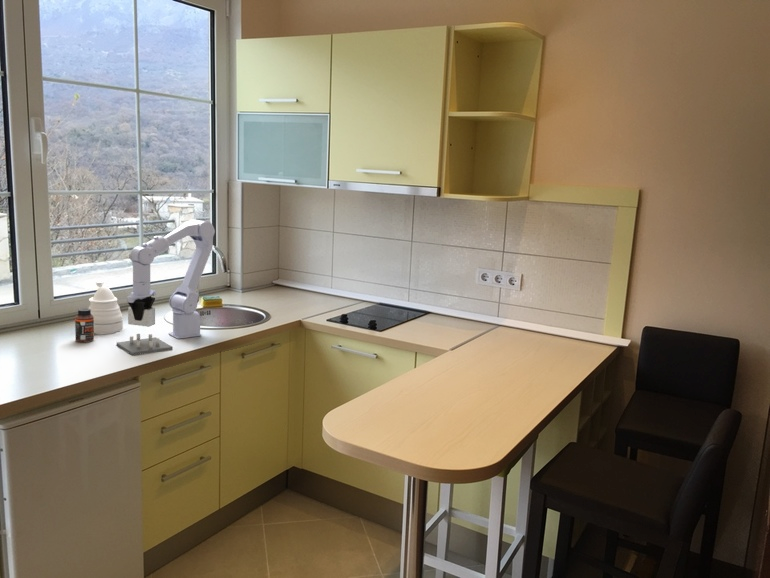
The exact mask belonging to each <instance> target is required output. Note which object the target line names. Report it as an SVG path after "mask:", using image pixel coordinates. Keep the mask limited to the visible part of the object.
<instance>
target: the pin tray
mask: <svg viewBox="0 0 770 578" xmlns="http://www.w3.org/2000/svg"><path fill="white" fill-rule="evenodd" d="M116 346H117V347H119V348H120V349H122V350H123V351H125V352H126V353H128V354H129V355H130V356H139V355H145V354H153V353H159V352H165V350H166V351H172V350H171V349H173V346H172V345H170V344H169V343H166V342H165V341H164V340H161V339H160V338H159V337H153V334H151V333H149V334H148V337H147V338H141V334H140V333H136V339H134V336H129V340H126V341H125V340H123V341H120V342H119V341H118V342H116Z"/></svg>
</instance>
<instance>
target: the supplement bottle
mask: <svg viewBox="0 0 770 578" xmlns="http://www.w3.org/2000/svg"><path fill="white" fill-rule="evenodd" d="M77 313H78V314H77V315H75V318H74V322H75V323H74V326H75V327H74V328H75V330H74V332H75V341H76V342H78V343H89V342H92V341H94V340H95V339H94V338H95V333H94V317H93V315H91V309H88V308H84V307H83V308H79V309H77Z"/></svg>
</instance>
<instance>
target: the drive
mask: <svg viewBox="0 0 770 578" xmlns="http://www.w3.org/2000/svg"><path fill="white" fill-rule="evenodd" d="M127 309H128V310H127V314H128V315H127V317H128V318H127V320H128V321H127V322H128V323H127V324H128V325H132V326H139V327H147V328H148V327H151V326H154V325H156V307H153V306H152V307H143V311H142V319H141V321H138V320H135V318H134V315H133V311H132V309H131V307H130V306H128V307H127Z"/></svg>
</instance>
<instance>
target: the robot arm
mask: <svg viewBox="0 0 770 578" xmlns="http://www.w3.org/2000/svg"><path fill="white" fill-rule="evenodd" d="M213 225H214V224H212V223H211V222H210V221H208V220H207V221H206V220H199V219H195V218H190V219H189V220H187V221H184V222H183V223H182V224H181V225H180V226H178V227H176V228H175V229H174V230H172V231H171V232H169V233H168V234H166V235H165V236H162V235H155V236H153V237H152V239H151V240H149V241H147V242H143V243H142V245H141V246H135V247H133V248H132V249H131V251H130V254H128V257H129V259H130V261H131V263H132V264H131V266H132V292H130V295H129V296H128V295H127V297H126V302H127V304H128V305H129V307H131V309H132V311H133V315H134V318H135V320H138V321H141V319H142V311H143V307H153V304H154V302H155V301H156V298H155V296H156V292H157V291H156V289H155V290H154V289H151V264H152V263H153V261H154V259H155V258H156V257H158V256H160V255H162V254H163V253H165V252H166V251H168V250H169V248H170V246H171V245H172V244H174V243H176V242H178V241H181V240H182V239H184V238H186V237H190V239H192V240H193V242H194V244H195V246H196V247H195V250H194V252H193V255H192V258H191V260H190V263H189V265H188V268H187V269H186V270H187V271H186V273H185V274H184V278H183V281H182V284H181V285H180V286H177V288H175V291H174V293H172V295H171V296H170V298H169V299H168V304H169V307H170V308H172V332H168V334H169V335H170V336H171V337H173V338H175V339H178V340H179V339H187V338H193V337H201V336H202V334H201V316H200V313H199V312H198V311H196V310H197V308H198V299H199V297H200V296H199V293H198V292H197V288H198V286H199V283H200V281H201V278H202V275H203V273H204V271H205V267H206V265H207V263H208V261H209V258H210V255H211V252H212V249H213V247H214V243H213V242H214V237H215V233H216V230H215V227H214V226H213Z"/></svg>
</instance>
